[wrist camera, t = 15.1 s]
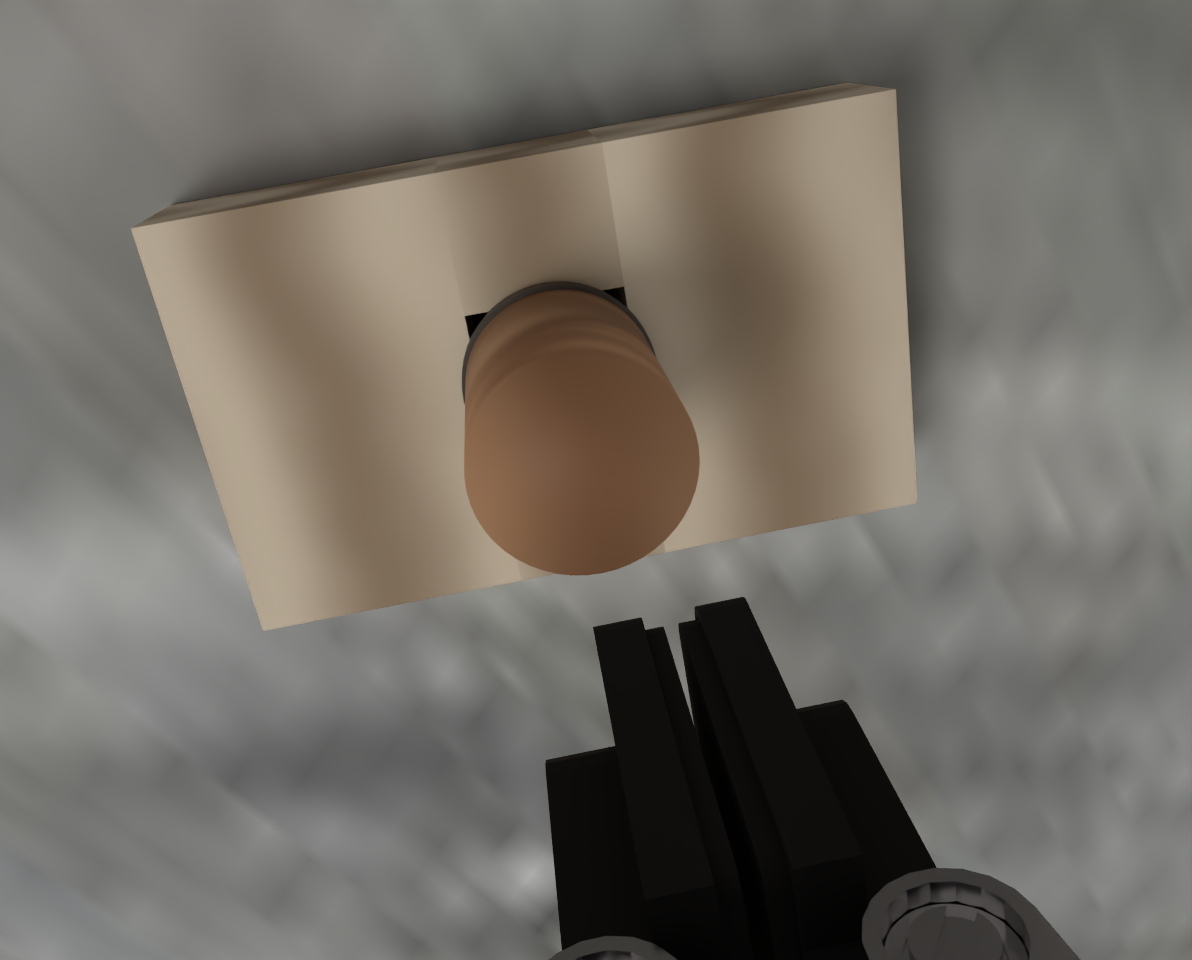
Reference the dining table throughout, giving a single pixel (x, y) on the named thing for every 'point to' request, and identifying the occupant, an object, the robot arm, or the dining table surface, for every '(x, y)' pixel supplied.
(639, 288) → the board
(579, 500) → the peg
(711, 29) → the dining table surface
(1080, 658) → the dining table surface
